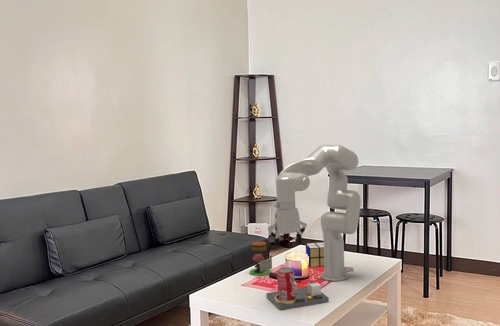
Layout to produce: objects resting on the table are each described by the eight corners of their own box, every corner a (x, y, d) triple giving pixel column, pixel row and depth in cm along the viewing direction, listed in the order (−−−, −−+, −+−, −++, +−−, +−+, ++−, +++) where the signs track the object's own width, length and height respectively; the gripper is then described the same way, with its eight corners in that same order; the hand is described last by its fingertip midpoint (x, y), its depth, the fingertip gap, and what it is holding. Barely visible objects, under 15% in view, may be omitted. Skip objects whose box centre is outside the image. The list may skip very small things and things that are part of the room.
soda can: (294, 303, 225) (293, 272, 223) (276, 302, 226) (275, 272, 225) (296, 296, 232) (295, 267, 230) (279, 296, 233) (278, 266, 232)
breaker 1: (293, 289, 240) (292, 279, 240) (297, 293, 236) (297, 282, 235) (284, 290, 239) (284, 280, 239) (288, 294, 234) (288, 283, 234)
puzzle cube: (306, 262, 289) (305, 243, 287) (324, 260, 290) (324, 242, 288) (310, 267, 279) (309, 248, 278) (329, 266, 280) (328, 247, 279)
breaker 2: (315, 291, 237) (315, 280, 236) (321, 295, 232) (320, 284, 232) (307, 292, 236) (307, 282, 235) (312, 296, 231) (312, 285, 230)
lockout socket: (292, 294, 235) (292, 291, 235) (301, 301, 226) (301, 298, 226) (271, 297, 232) (271, 294, 232) (279, 305, 223) (279, 302, 223)
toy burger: (244, 276, 269) (243, 246, 268) (252, 268, 281) (251, 239, 279) (267, 277, 266) (266, 247, 264) (274, 269, 277) (273, 240, 276)
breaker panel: (312, 290, 245) (312, 283, 245) (328, 302, 230) (328, 295, 230) (266, 297, 238) (266, 290, 238) (279, 310, 223) (279, 303, 223)
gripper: (270, 209, 222) (272, 250, 224) (309, 204, 227) (310, 244, 229) (263, 206, 229) (265, 246, 231) (301, 201, 234) (303, 240, 236)
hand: (288, 245), depth 230 cm, fingers open, 9 cm apart
